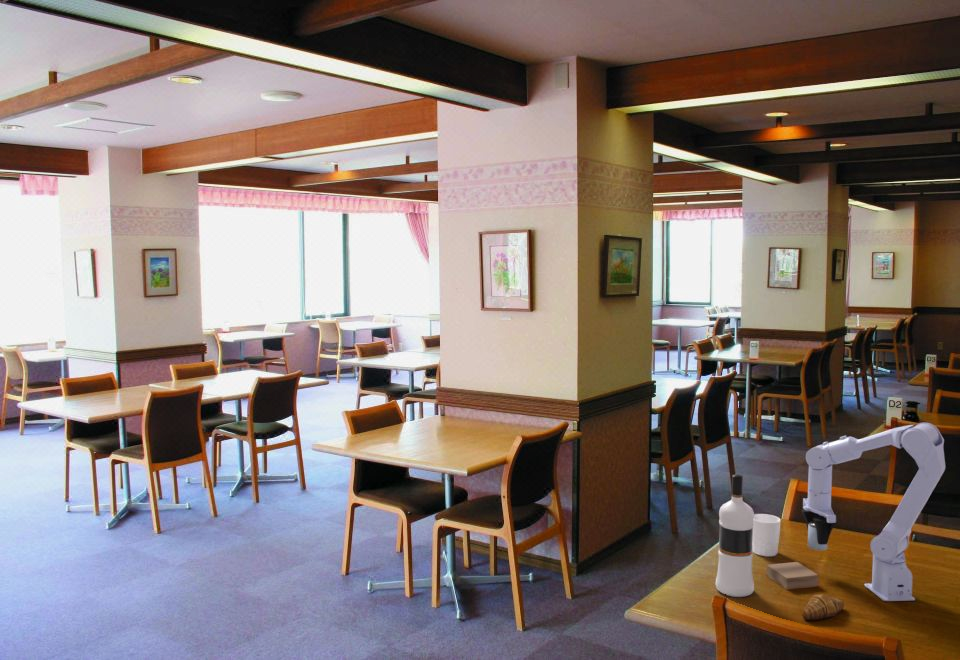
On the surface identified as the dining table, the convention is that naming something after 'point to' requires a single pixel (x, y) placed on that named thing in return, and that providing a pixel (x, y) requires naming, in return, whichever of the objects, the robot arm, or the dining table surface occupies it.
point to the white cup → (765, 534)
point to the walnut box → (792, 575)
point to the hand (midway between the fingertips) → (817, 540)
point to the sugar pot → (814, 538)
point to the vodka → (735, 544)
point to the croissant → (822, 607)
